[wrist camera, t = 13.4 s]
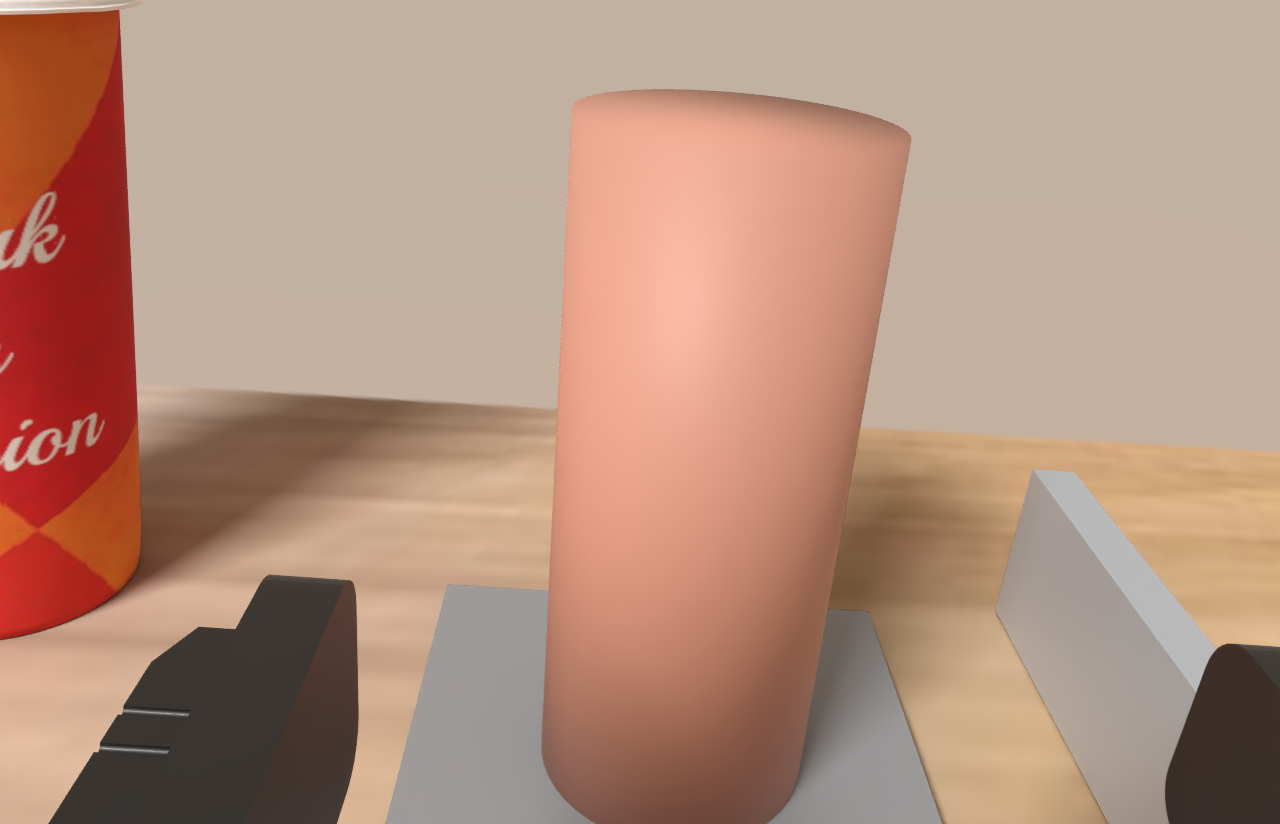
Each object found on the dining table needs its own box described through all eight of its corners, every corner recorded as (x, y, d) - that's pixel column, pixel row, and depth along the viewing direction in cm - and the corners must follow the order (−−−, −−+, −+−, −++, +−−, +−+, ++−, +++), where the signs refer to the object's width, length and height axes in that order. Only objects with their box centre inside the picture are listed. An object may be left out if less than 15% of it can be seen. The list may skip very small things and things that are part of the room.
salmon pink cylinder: (781, 671, 24) (873, 103, 19) (817, 853, 19) (951, 168, 14) (549, 658, 24) (579, 80, 18) (531, 839, 19) (562, 139, 14)
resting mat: (865, 625, 26) (868, 611, 26) (992, 1001, 17) (998, 983, 17) (447, 598, 26) (447, 583, 26) (352, 970, 17) (352, 951, 17)
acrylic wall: (1034, 613, 28) (1074, 471, 26) (1303, 1074, 17) (1401, 880, 15) (995, 610, 28) (1032, 468, 26) (1240, 1070, 17) (1330, 877, 15)
